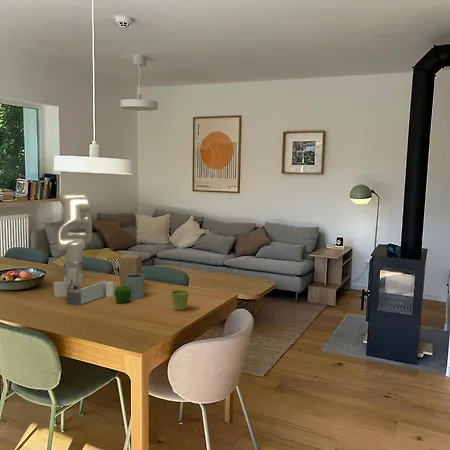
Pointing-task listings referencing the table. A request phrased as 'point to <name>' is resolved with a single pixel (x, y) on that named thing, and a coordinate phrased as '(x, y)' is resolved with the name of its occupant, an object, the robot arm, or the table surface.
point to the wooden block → (129, 266)
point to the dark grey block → (74, 296)
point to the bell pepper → (122, 294)
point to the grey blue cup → (136, 285)
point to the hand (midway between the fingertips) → (75, 297)
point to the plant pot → (180, 299)
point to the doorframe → (62, 288)
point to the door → (91, 292)
